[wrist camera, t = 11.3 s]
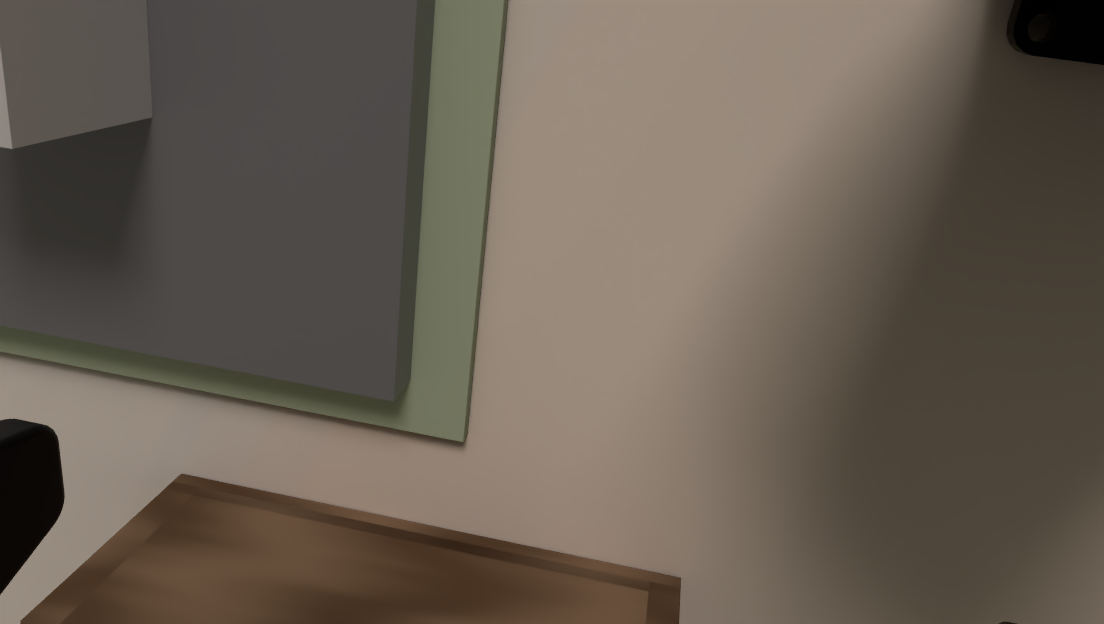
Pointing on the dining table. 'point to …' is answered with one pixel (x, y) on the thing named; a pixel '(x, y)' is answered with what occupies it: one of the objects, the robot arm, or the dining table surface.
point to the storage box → (334, 571)
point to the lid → (218, 181)
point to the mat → (443, 264)
